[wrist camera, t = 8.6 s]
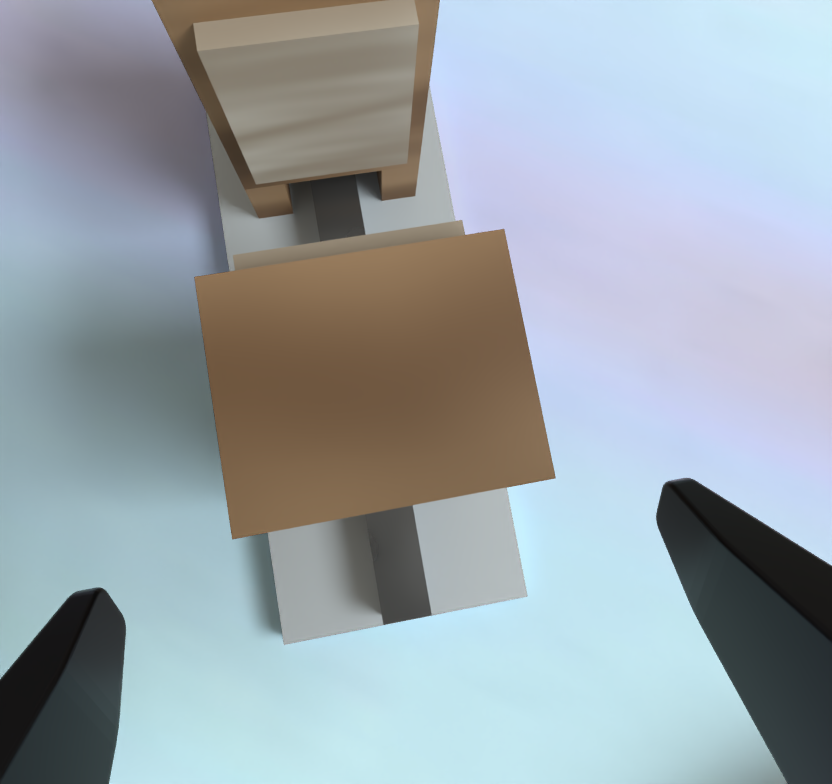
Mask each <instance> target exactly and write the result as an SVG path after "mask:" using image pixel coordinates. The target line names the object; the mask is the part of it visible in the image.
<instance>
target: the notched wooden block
mask: <svg viewBox="0 0 832 784" xmlns="http://www.w3.org/2000/svg"><path fill="white" fill-rule="evenodd" d="M233 261H234V267H235V271H230V272H223V273H217V274H210V275H204V276H197V277H194V278H195V285H196V292H197V299H198V306H199V313H200V320H201V327H202V334H203V341H204V347H205V354H206V361H207V368H208V375H209V382H210V389H211V396H212V403H213V410H214V417H215V424H216V431H217V437H218V444H219V451H220V458H221V465H222V472H223V479H224V486H225V493H226V500H227V507H228V514H229V520H230V527H231V534H232V539H237V538H242V537H247V536H253V535H258V534H263V533H268V532H274V531H279V530H284V529H290V528H295V527H300V526H305V525H311V524H316V523H321V522H327V521H332V520H337V519H342V518H348V517H353V516H358V515H364V514H369V513H374V512H380V511H385V510H390V509H395V508H401V507H406V506H411V505H417V504H422V503H427V502H432V501H438V500H443V499H448V498H454V497H459V496H464V495H469V494H475V493H480V492H485V491H491V490H496V489H501V488H507V487H512V486H517V485H522V484H528V483H533V482H538V481H544V480H549V479H554V478H555V473H554V468H553V463H552V458H551V453H550V449H549V444H548V439H547V434H546V429H545V424H544V420H543V415H542V410H541V405H540V400H539V395H538V390H537V386H536V381H535V376H534V371H533V366H532V361H531V357H530V352H529V347H528V342H527V337H526V332H525V327H524V323H523V318H522V313H521V308H520V303H519V298H518V294H517V289H516V284H515V279H514V274H513V269H512V264H511V260H510V255H509V250H508V245H507V240H506V235H505V231H504V229H501V230H495V231H488V232H482V233H475V234H469V235H465V232H464V227H463V222H462V220H459V221H453V222H446V223H439V224H433V225H426V226H420V227H413V228H407V229H400V230H394V231H387V232H381V233H374V234H367V235H361V236H354V237H348V238H341V239H335V240H328V241H322V242H315V243H308V244H302V245H295V246H289V247H282V248H276V249H269V250H263V251H256V252H250V253H243V254H236V255H233Z"/></svg>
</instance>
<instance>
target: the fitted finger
mask: <svg viewBox="0 0 832 784" xmlns="http://www.w3.org/2000/svg"><path fill="white" fill-rule="evenodd" d="M152 2H153V4H154V6H155V8H156V10H157V12H158V14H159V16H160V18H161V20H162V22H163V24H164V26H165V28H166V30H167V32H168V35H169V37H170V39H171V41H172V43H173V45H174V47H175V49H176V51H177V53H178V55H179V57H180V59H181V61H182V63H183V65H184V67H185V69H186V71H187V73H188V75H189V77H190V79H191V81H192V83H193V85H194V87H195V89H196V92H197V94H198V96H199V98H200V100H201V102H202V104H203V106H204V108H205V110H206V112H207V114H208V116H209V118H210V120H211V122H212V124H213V126H214V128H215V130H216V132H217V134H218V136H219V138H220V140H221V142H222V144H223V146H224V148H225V151H226V153H227V155H228V157H229V159H230V161H231V163H232V165H233V167H234V169H235V171H236V173H237V175H238V177H239V179H240V181H241V183H242V185H243V187H244V189H245V191H246V193H247V195H248V197H249V199H250V201H251V203H252V205H253V207H254V210H255V212H256V214H257V216H258V218H259V219H260V218H267V217H274V216H281V215H288V214H294V213H293V207H292V200H291V194H290V188H289V183H296V182H304V181H311V180H318V179H325V178H332V177H339V176H346V175H353V174H361V173H368V172H375V171H376V172H377V177H378V183H379V189H380V194H381V200H382V201H385V200H392V199H399V198H406V197H413V196H415V194H416V186H417V178H418V170H419V162H420V154H421V146H422V138H423V130H424V122H425V114H426V106H427V98H428V90H429V82H430V74H431V66H432V58H433V50H434V42H435V34H436V26H437V18H438V10H439V2H440V0H152Z"/></svg>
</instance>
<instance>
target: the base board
mask: <svg viewBox="0 0 832 784" xmlns="http://www.w3.org/2000/svg"><path fill="white" fill-rule="evenodd" d="M206 116H207V123H208V129H209V136H210V143H211V150H212V157H213V164H214V170H215V177H216V184H217V191H218V198H219V205H220V211H221V218H222V225H223V232H224V239H225V246H226V252H227V259H228V266H229V272H230V271H235V267H234V261H233V255H236V254H243V253H250V252H256V251H263V250H269V249H276V248H282V247H289V246H295V245H302V244H308V243H315V242H320V238H319V232H318V226H317V220H316V214H315V208H314V202H313V196H312V189H311V183H310V181H304V182H296V183H289V188H290V194H291V200H292V207H293V213H294V214H288V215H281V216H274V217H267V218H260V219H259V218H258V216H257V214H256V212H255V210H254V207H253V205H252V203H251V201H250V199H249V197H248V195H247V193H246V191H245V189H244V187H243V185H242V183H241V181H240V179H239V177H238V175H237V173H236V171H235V169H234V167H233V165H232V163H231V161H230V159H229V157H228V155H227V153H226V151H225V148H224V146H223V144H222V142H221V140H220V138H219V136H218V134H217V132H216V130H215V128H214V126H213V124H212V122H211V120H210V118H209V116H208V114H207V112H206ZM355 177H356V182H357V188H358V194H359V200H360V205H361V211H362V217H363V223H364V228H365V234H366V235H367V234H374V233H381V232H387V231H394V230H400V229H407V228H413V227H420V226H426V225H433V224H439V223H446V222H453V221H455V216H454V211H453V206H452V201H451V195H450V190H449V185H448V180H447V175H446V169H445V164H444V159H443V154H442V149H441V143H440V138H439V133H438V128H437V123H436V117H435V112H434V107H433V102H432V97H431V91H430V86H429V90H428V98H427V106H426V114H425V122H424V130H423V138H422V146H421V154H420V162H419V170H418V178H417V186H416V194H415V196H413V197H406V198H399V199H392V200H385V201H382V200H381V194H380V189H379V183H378V177H377V172H376V171H375V172H368V173H361V174H355ZM413 510H414V515H415V521H416V527H417V533H418V538H419V544H420V550H421V556H422V561H423V567H424V573H425V579H426V584H427V590H428V596H429V602H430V607H431V613H432V615H437V614H442V613H447V612H452V611H457V610H462V609H467V608H472V607H477V606H482V605H487V604H492V603H497V602H502V601H507V600H512V599H517V598H522V597H527V591H526V586H525V580H524V575H523V570H522V565H521V560H520V554H519V549H518V544H517V539H516V534H515V528H514V523H513V518H512V513H511V508H510V502H509V497H508V492H507V488H501V489H496V490H491V491H485V492H480V493H475V494H469V495H464V496H459V497H454V498H448V499H443V500H438V501H432V502H427V503H422V504H417V505H413ZM268 539H269V546H270V553H271V560H272V567H273V573H274V580H275V587H276V594H277V601H278V608H279V614H280V621H281V628H282V635H283V642H284V645H286V644H291V643H296V642H301V641H306V640H311V639H316V638H321V637H326V636H331V635H336V634H341V633H346V632H351V631H356V630H361V629H366V628H371V627H376V626H381V625H383V620H382V614H381V608H380V602H379V596H378V590H377V583H376V577H375V571H374V565H373V559H372V553H371V547H370V541H369V535H368V529H367V523H366V517H365V514H364V515H358V516H353V517H348V518H342V519H337V520H332V521H327V522H321V523H316V524H311V525H305V526H300V527H295V528H290V529H284V530H279V531H274V532H268ZM432 615H431V616H432ZM426 617H427V616H426ZM420 618H421V617H420ZM415 619H416V618H415ZM410 620H411V619H410ZM405 621H406V620H405ZM400 622H401V621H400ZM395 623H396V622H395ZM390 624H391V623H390ZM385 625H386V624H385Z"/></svg>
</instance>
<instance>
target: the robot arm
mask: <svg viewBox="0 0 832 784" xmlns="http://www.w3.org/2000/svg"><path fill="white" fill-rule="evenodd" d="M656 520H657V525H658V528H659V531H660V533H661V536H662V538H663V541H664V543H665V545H666V548H667V550H668V553H669V555H670V557H671V560H672V562H673V565H674V567H675V569H676V572H677V574H678V577H679V579H680V581H681V584H682V586H683V589H684V591H685V593H686V596H687V598H688V600H689V603H690V605H691V607H692V609H693V611H694V613H695V615H696V617H697V619H698V621H699V623H700V625H701V627H702V629H703V631H704V632H705V634H706V636H707V638H708V640H709V641H710V643H711V645H712V647H713V649H714V651H715V652H716V654H717V656H718V658H719V660H720V661H721V663H722V665H723V667H724V669H725V671H726V672H727V674H728V676H729V678H730V680H731V681H732V683H733V685H734V687H735V689H736V691H737V692H738V694H739V696H740V698H741V700H742V701H743V703H744V705H745V707H746V709H747V711H748V712H749V714H750V716H751V718H752V720H753V721H754V723H755V725H756V727H757V729H758V731H759V732H760V734H761V736H762V738H763V740H764V741H765V743H766V745H767V747H768V749H769V751H770V752H771V754H772V756H773V758H774V760H775V761H776V763H777V765H778V767H779V769H780V771H781V772H782V774H783V776H784V778H785V780H786V782H787V783H788V784H832V566H831V565H830V564H828V563H827V562H825V561H823V560H822V559H820V558H819V557H817V556H815V555H814V554H812V553H811V552H809V551H807V550H806V549H804V548H803V547H801V546H799V545H798V544H796V543H795V542H793V541H791V540H790V539H788V538H787V537H785V536H783V535H782V534H780V533H779V532H777V531H775V530H774V529H772V528H771V527H769V526H767V525H766V524H764V523H763V522H761V521H759V520H758V519H756V518H755V517H753V516H751V515H750V514H748V513H747V512H745V511H743V510H742V509H740V508H739V507H737V506H735V505H734V504H732V503H731V502H729V501H727V500H726V499H724V498H723V497H721V496H719V495H718V494H716V493H715V492H713V491H711V490H710V489H708V488H707V487H705V486H703V485H702V484H700V483H699V482H697V481H695V480H693V479H691V478H682V479H677V480H671V481H667V482H666V483H665V484H664V485H663V488H662V492H661V496H660V500H659V504H658V509H657V513H656ZM125 636H126V625H125V620H124V617H123V615H122V613H121V612H120V610H119V609H118V607H117V606H116V605H115V603H114V602H113V600H112V599H111V597H110V596H109V594H108V593H107V591H106V590H105V589H103V588H100V587H98V588H92V589H87V590H81V591H77V592H75V593H73V594H72V595H71V596H69V598H68V599H67V600H66V601H65V602H64V603H63V605H62V606H61V607H60V608H59V609H58V611H57V612H56V613H55V614H54V615H53V617H52V618H51V619H50V620H49V621H48V623H47V624H46V625H45V626H44V627H43V629H42V630H41V631H40V632H39V633H38V635H37V636H36V637H35V638H34V639H33V641H32V642H31V643H30V644H29V645H28V647H27V648H26V649H25V650H24V651H23V653H22V654H21V655H20V656H19V657H18V659H17V660H16V661H15V662H14V663H13V665H12V666H11V667H10V668H9V669H8V671H7V672H6V673H5V674H4V675H3V677H2V678H1V679H0V784H109V780H110V775H111V769H112V764H113V758H114V753H115V747H116V741H117V735H118V728H119V718H120V706H121V692H122V678H123V664H124V650H125Z"/></svg>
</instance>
